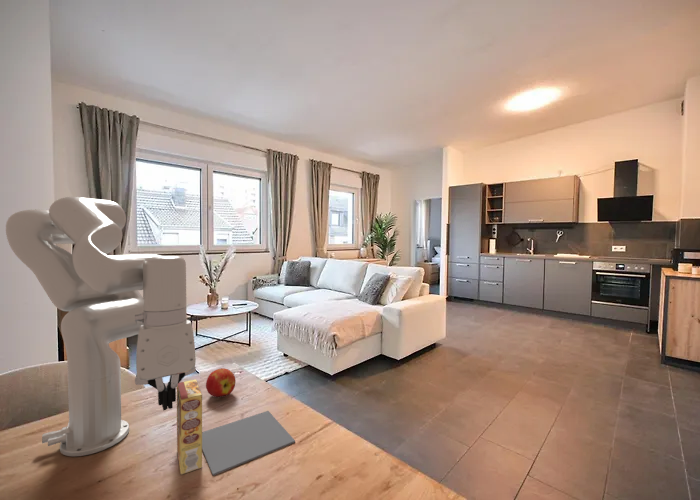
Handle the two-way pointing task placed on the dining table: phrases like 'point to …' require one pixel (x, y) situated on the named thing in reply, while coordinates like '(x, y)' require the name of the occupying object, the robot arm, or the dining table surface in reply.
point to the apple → (220, 383)
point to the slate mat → (243, 441)
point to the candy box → (189, 426)
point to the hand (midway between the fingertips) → (167, 406)
